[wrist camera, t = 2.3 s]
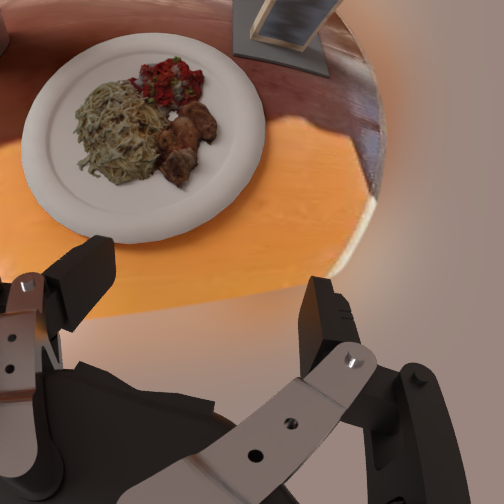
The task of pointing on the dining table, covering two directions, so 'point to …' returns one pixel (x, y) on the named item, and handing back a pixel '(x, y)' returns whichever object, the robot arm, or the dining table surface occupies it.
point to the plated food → (142, 138)
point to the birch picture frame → (291, 21)
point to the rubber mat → (244, 15)
